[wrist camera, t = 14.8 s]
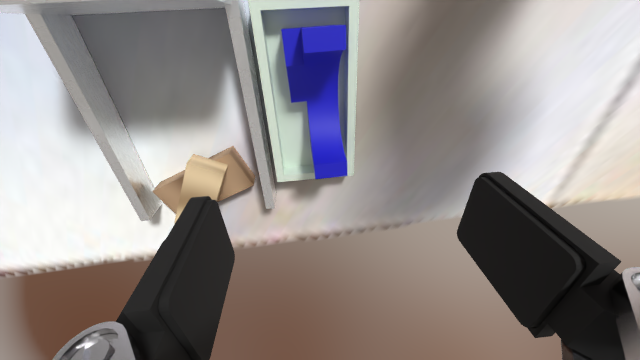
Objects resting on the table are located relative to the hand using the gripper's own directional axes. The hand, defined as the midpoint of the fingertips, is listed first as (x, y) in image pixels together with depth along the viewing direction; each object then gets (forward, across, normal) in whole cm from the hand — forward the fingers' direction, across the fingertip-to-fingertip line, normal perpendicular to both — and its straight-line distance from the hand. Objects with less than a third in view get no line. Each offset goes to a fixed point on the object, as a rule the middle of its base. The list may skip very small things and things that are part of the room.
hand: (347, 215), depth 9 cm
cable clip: (+19, 0, 0) cm, 19 cm away
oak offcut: (+17, +13, +9) cm, 23 cm away
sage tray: (+19, 0, +1) cm, 19 cm away
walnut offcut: (+20, +13, +9) cm, 25 cm away
